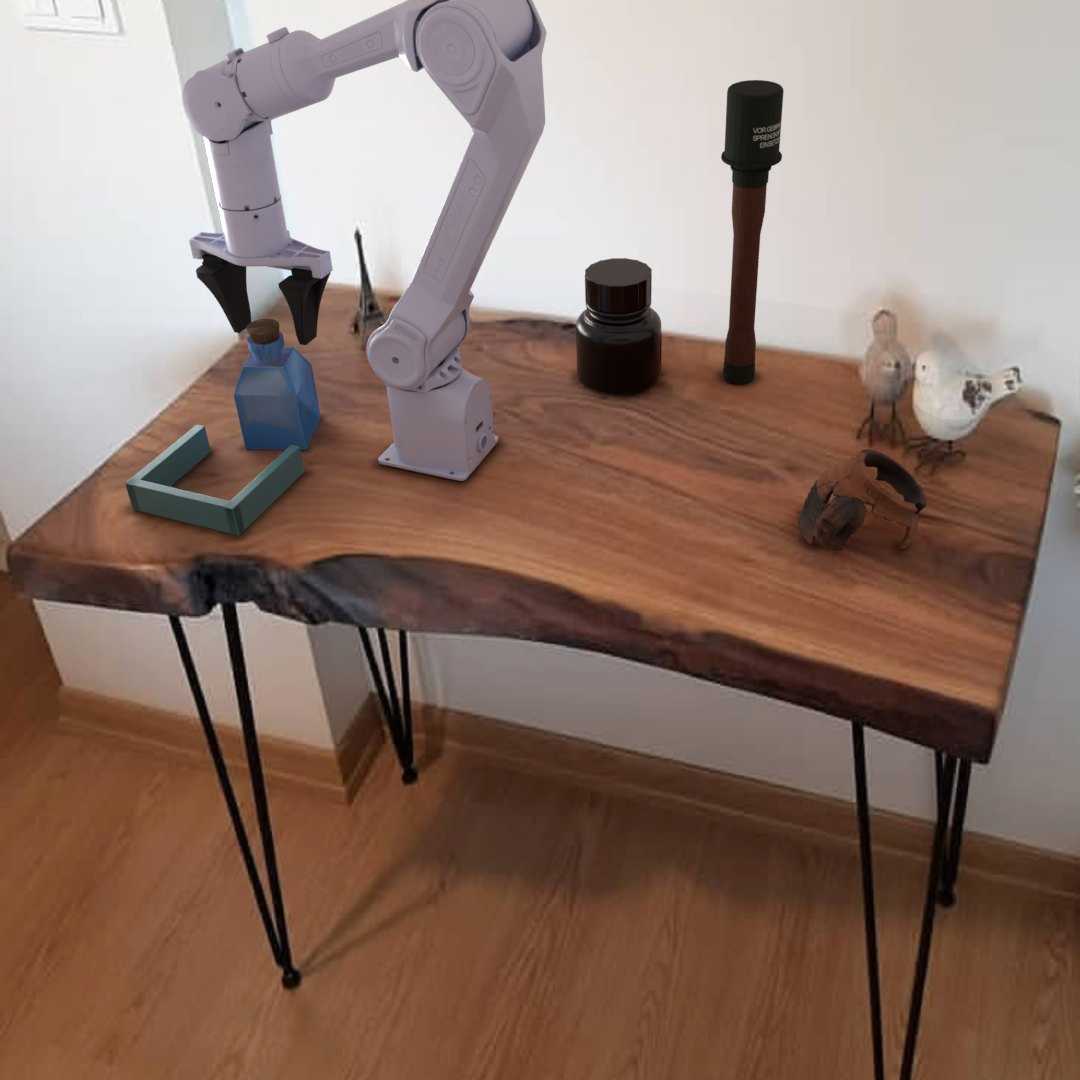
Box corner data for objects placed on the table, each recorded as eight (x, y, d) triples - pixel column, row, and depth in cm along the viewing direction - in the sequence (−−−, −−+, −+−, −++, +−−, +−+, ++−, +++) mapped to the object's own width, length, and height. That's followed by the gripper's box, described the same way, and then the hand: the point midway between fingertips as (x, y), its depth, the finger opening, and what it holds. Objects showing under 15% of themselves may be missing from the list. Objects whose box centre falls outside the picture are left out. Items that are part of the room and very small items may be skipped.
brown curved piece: (810, 494, 113) (866, 428, 108) (890, 563, 111) (950, 499, 106) (761, 533, 103) (820, 463, 98) (847, 610, 101) (911, 542, 96)
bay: (304, 472, 119) (299, 446, 117) (239, 536, 111) (232, 509, 109) (203, 449, 123) (196, 424, 121) (132, 509, 115) (124, 483, 113)
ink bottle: (678, 368, 132) (681, 264, 124) (639, 406, 126) (640, 298, 119) (599, 349, 136) (598, 247, 129) (558, 384, 130) (554, 279, 123)
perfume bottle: (320, 417, 127) (302, 311, 120) (306, 450, 122) (285, 341, 115) (262, 416, 127) (240, 311, 120) (245, 449, 122) (221, 341, 115)
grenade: (729, 395, 127) (745, 100, 109) (701, 372, 131) (712, 84, 113) (776, 382, 128) (799, 90, 110) (747, 359, 133) (765, 74, 115)
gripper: (340, 192, 112) (360, 327, 120) (210, 175, 117) (237, 306, 125) (298, 221, 107) (321, 360, 115) (164, 202, 112) (195, 336, 120)
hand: (275, 334), depth 120 cm, fingers open, 7 cm apart
